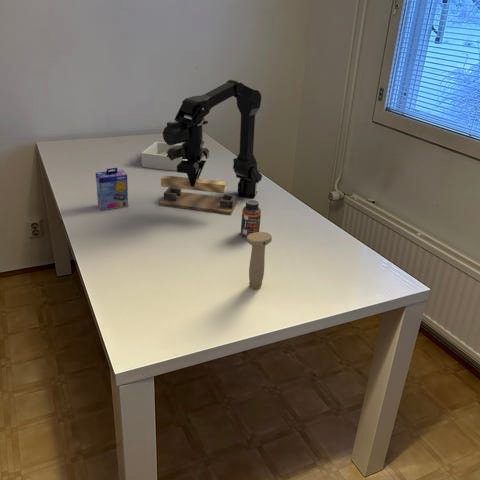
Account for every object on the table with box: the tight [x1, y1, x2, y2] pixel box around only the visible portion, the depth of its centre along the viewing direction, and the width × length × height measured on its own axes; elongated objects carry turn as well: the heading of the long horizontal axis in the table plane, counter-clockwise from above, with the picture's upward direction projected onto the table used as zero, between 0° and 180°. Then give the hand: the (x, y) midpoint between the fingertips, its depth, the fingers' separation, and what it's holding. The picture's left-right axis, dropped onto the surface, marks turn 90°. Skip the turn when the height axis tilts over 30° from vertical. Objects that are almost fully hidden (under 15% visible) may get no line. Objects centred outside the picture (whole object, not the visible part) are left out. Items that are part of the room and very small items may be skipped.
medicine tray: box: [140, 141, 187, 172], centre depth 215 cm, size 18×18×6 cm
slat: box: [160, 174, 227, 195], centre depth 165 cm, size 22×3×3 cm, turn 79°
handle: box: [246, 231, 273, 290], centre depth 127 cm, size 5×6×15 cm
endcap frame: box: [159, 187, 239, 215], centre depth 177 cm, size 26×12×4 cm, turn 79°
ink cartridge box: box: [95, 167, 129, 211], centre depth 169 cm, size 10×6×14 cm, turn 120°
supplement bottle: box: [240, 199, 262, 238], centre depth 156 cm, size 6×6×11 cm
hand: (193, 184), depth 165 cm, fingers closed on slat, 3 cm apart
